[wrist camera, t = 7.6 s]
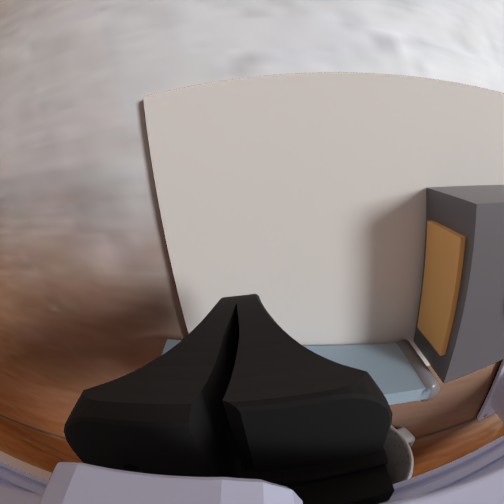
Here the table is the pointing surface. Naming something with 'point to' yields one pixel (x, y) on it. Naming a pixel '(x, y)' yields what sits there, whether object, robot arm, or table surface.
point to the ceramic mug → (399, 454)
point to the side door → (381, 367)
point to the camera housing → (462, 280)
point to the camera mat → (315, 193)
